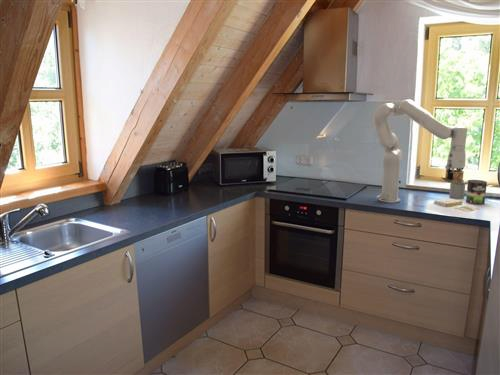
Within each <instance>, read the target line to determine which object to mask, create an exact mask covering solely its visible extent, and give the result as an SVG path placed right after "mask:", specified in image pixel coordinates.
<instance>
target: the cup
mask: <svg viewBox="0 0 500 375" xmlns="http://www.w3.org/2000/svg"><path fill="white" fill-rule="evenodd" d="M465 191H466V183H464V182H456V183H455V182H450V187H449V197H448V198H451V199H455V200H463V199H465Z"/></svg>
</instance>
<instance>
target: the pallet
mask: <svg viewBox="0 0 500 375" xmlns="http://www.w3.org/2000/svg"><path fill="white" fill-rule="evenodd" d="M454 209H455V210H459V211H463V212H467V213H469V212H474V211H479V210H480V208H478V207H473V206H470V205H463V206H457V207H454Z"/></svg>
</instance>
